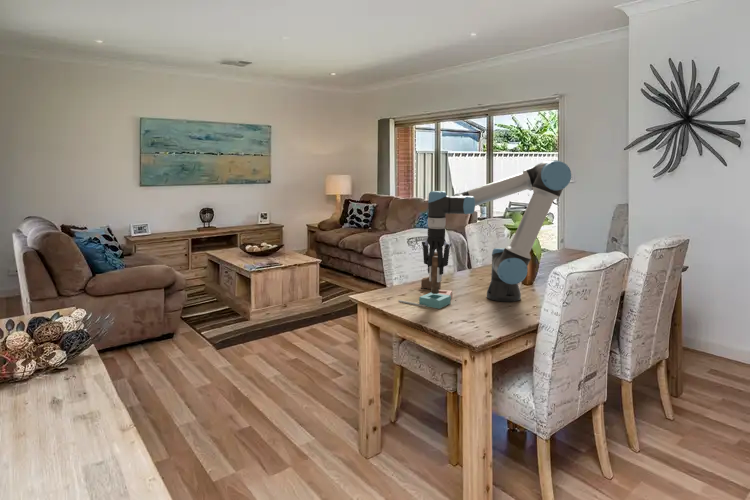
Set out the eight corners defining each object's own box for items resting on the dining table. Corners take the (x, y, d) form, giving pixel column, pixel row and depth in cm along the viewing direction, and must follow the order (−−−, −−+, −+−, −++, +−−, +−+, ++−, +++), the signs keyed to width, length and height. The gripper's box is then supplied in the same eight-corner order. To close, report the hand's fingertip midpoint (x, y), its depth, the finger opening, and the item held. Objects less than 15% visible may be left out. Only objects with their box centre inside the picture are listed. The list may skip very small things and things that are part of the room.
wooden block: (421, 288, 243) (421, 252, 240) (422, 286, 248) (423, 251, 245) (439, 289, 241) (440, 253, 238) (440, 287, 245) (441, 252, 242)
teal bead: (450, 303, 217) (450, 295, 216) (439, 308, 209) (439, 300, 208) (430, 299, 223) (430, 292, 222) (419, 304, 215) (419, 297, 214)
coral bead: (452, 297, 228) (452, 290, 227) (449, 301, 220) (449, 295, 219) (434, 295, 230) (435, 289, 229) (431, 300, 222) (431, 293, 222)
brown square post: (440, 292, 215) (440, 256, 213) (436, 294, 213) (437, 257, 210) (433, 291, 217) (434, 255, 214) (429, 293, 215) (430, 257, 212)
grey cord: (426, 306, 212) (426, 305, 212) (425, 307, 211) (425, 305, 211) (399, 301, 220) (399, 300, 220) (398, 301, 220) (398, 300, 219)
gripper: (415, 226, 212) (414, 280, 216) (449, 229, 202) (447, 285, 206) (424, 225, 218) (423, 277, 222) (457, 228, 208) (456, 282, 212)
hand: (435, 281), depth 214 cm, fingers closed on brown square post, 3 cm apart
